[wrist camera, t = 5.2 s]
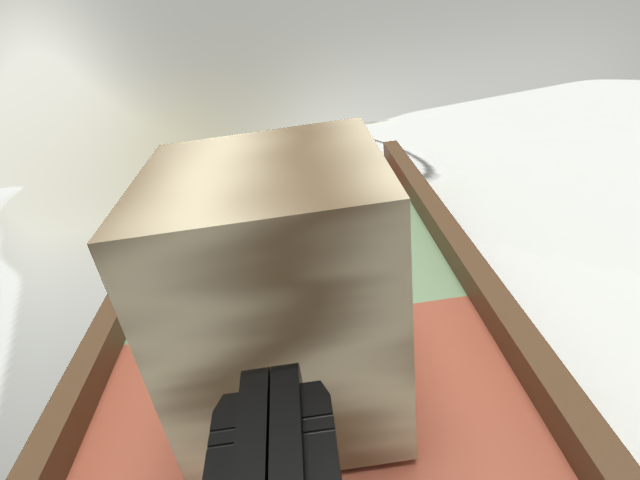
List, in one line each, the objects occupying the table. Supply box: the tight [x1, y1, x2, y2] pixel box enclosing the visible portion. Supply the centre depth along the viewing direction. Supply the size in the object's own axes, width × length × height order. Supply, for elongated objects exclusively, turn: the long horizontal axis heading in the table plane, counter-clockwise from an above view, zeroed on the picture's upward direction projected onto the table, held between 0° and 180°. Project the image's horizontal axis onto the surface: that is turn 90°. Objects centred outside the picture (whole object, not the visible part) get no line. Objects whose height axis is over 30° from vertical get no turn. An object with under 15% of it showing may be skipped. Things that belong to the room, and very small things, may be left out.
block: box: [87, 117, 417, 480], centre depth 18 cm, size 8×8×10 cm
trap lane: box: [6, 141, 640, 480], centre depth 29 cm, size 20×34×2 cm, turn 4°
